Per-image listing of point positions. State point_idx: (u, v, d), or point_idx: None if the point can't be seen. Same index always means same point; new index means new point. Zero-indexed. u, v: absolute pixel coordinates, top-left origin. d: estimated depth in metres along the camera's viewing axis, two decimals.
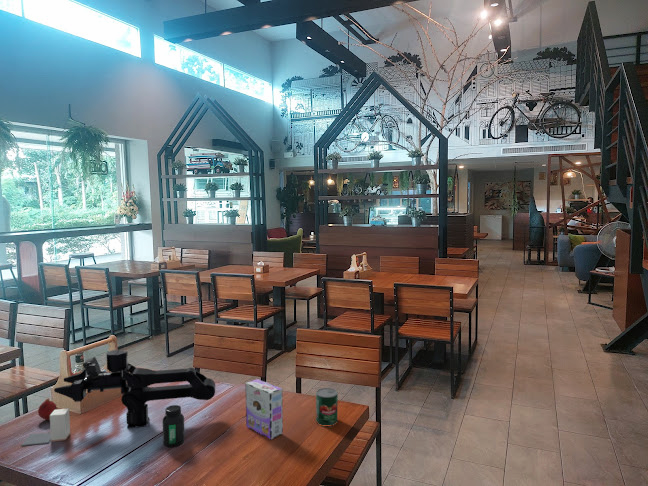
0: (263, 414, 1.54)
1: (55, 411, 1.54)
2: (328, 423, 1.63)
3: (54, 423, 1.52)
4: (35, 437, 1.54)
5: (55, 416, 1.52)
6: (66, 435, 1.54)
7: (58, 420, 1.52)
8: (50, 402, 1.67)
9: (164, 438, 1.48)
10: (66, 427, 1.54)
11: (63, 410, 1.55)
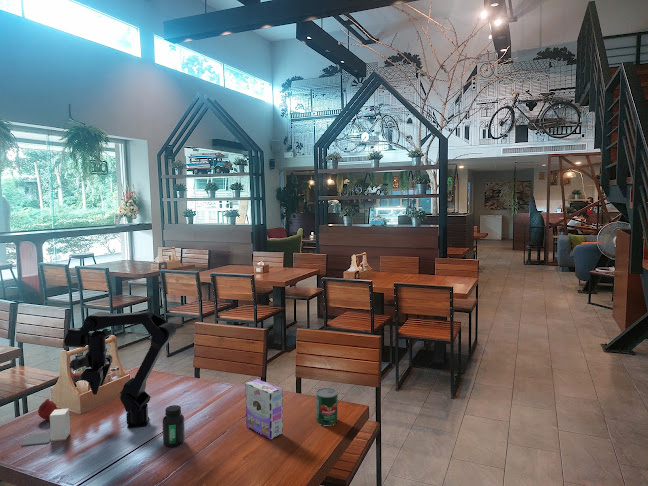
0: (263, 414, 1.54)
1: (55, 411, 1.54)
2: (328, 423, 1.63)
3: (54, 423, 1.52)
4: (35, 437, 1.54)
5: (55, 416, 1.52)
6: (66, 435, 1.54)
7: (58, 420, 1.52)
8: (50, 402, 1.67)
9: (164, 438, 1.48)
10: (66, 427, 1.54)
11: (63, 410, 1.55)
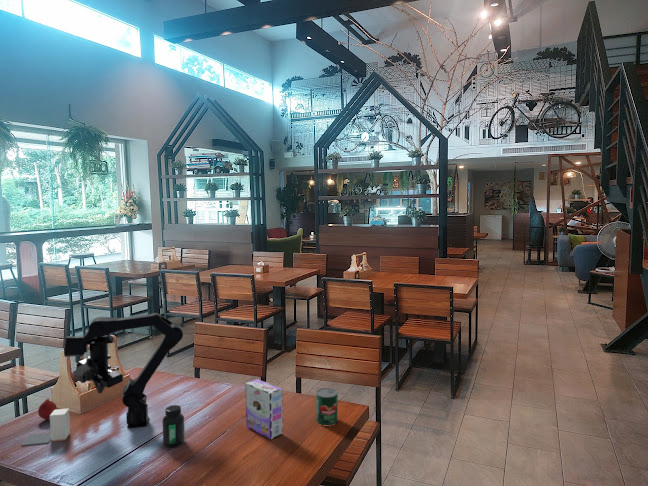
0: (263, 414, 1.54)
1: (55, 411, 1.54)
2: (328, 423, 1.63)
3: (54, 423, 1.52)
4: (35, 437, 1.54)
5: (55, 416, 1.52)
6: (66, 435, 1.54)
7: (58, 420, 1.52)
8: (50, 402, 1.67)
9: (164, 438, 1.48)
10: (66, 427, 1.54)
11: (63, 410, 1.55)
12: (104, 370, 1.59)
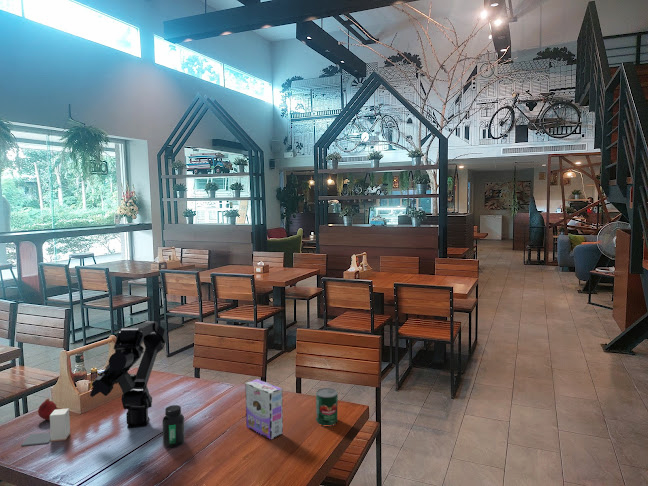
0: (263, 414, 1.54)
1: (55, 411, 1.54)
2: (328, 423, 1.63)
3: (54, 423, 1.52)
4: (35, 437, 1.54)
5: (55, 416, 1.52)
6: (66, 435, 1.54)
7: (58, 420, 1.52)
8: (50, 402, 1.67)
9: (164, 438, 1.48)
10: (66, 427, 1.54)
11: (63, 410, 1.55)
12: None
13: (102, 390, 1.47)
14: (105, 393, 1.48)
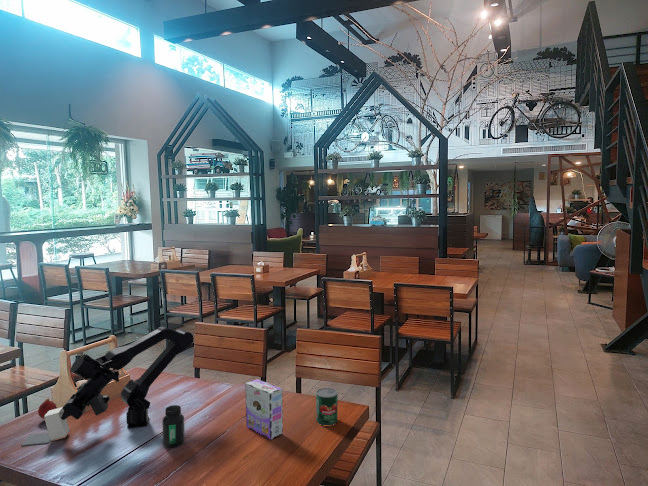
0: (263, 414, 1.54)
1: (49, 411, 1.54)
2: (328, 423, 1.63)
3: (50, 423, 1.51)
4: (35, 437, 1.54)
5: (49, 416, 1.51)
6: (65, 433, 1.53)
7: (53, 419, 1.51)
8: (50, 402, 1.67)
9: (164, 438, 1.48)
10: (63, 425, 1.53)
11: (57, 409, 1.54)
12: None
13: (73, 414, 1.45)
14: (76, 416, 1.45)
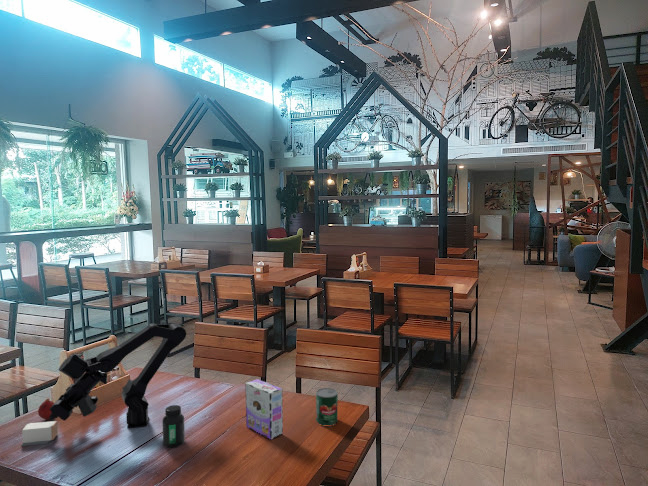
0: (263, 414, 1.54)
1: None
2: (328, 423, 1.63)
3: (32, 438, 1.50)
4: None
5: (24, 437, 1.50)
6: (49, 426, 1.52)
7: (29, 434, 1.50)
8: (50, 402, 1.67)
9: (164, 438, 1.48)
10: (41, 426, 1.52)
11: None
12: None
13: (60, 415, 1.45)
14: (64, 418, 1.46)
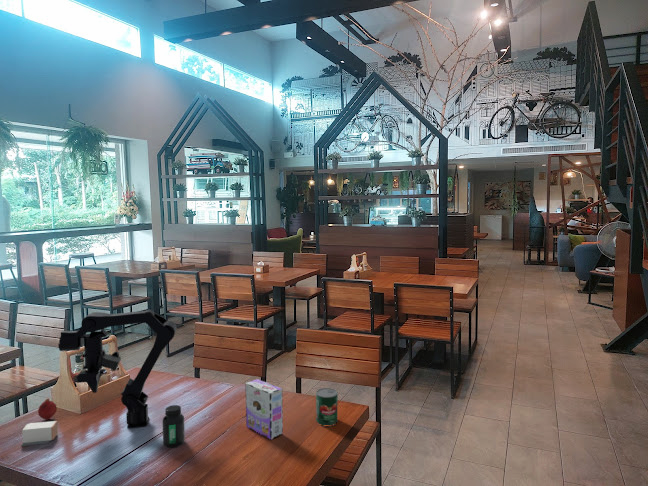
0: (263, 414, 1.54)
1: None
2: (328, 423, 1.63)
3: (32, 438, 1.50)
4: None
5: (24, 437, 1.50)
6: (49, 426, 1.52)
7: (29, 434, 1.50)
8: (50, 402, 1.67)
9: (164, 438, 1.48)
10: (41, 426, 1.52)
11: None
12: None
13: (88, 379, 1.51)
14: (93, 379, 1.51)
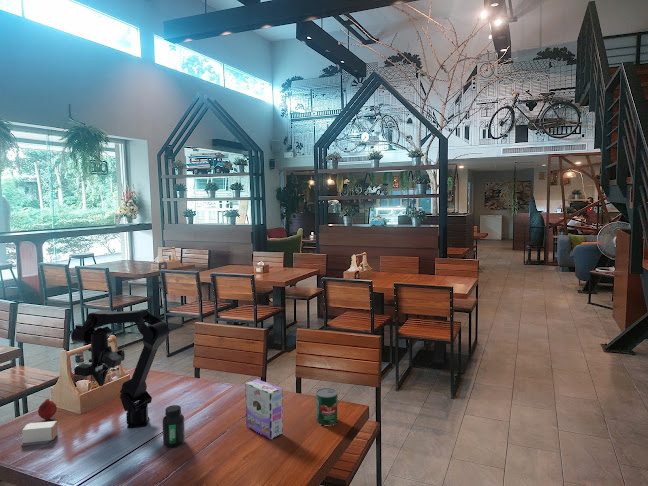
0: (263, 414, 1.54)
1: None
2: (328, 423, 1.63)
3: (32, 438, 1.50)
4: None
5: (24, 437, 1.50)
6: (49, 426, 1.52)
7: (29, 434, 1.50)
8: (50, 402, 1.67)
9: (164, 438, 1.48)
10: (41, 426, 1.52)
11: None
12: None
13: (82, 373, 1.59)
14: (85, 374, 1.58)
